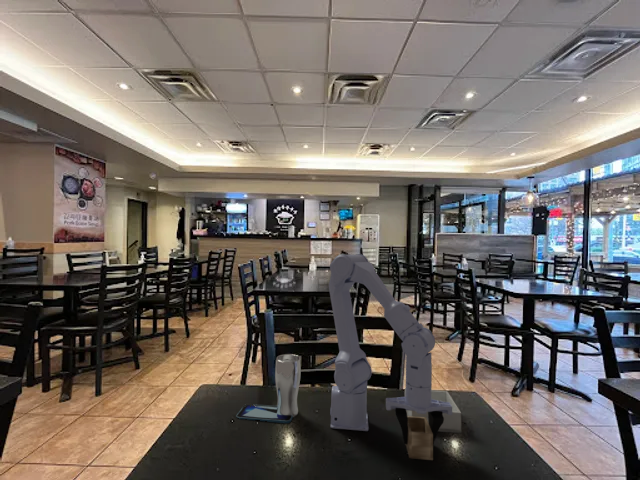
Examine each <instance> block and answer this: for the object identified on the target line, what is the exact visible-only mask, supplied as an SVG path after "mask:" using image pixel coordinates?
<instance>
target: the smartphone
mask: <svg viewBox="0 0 640 480" xmlns="http://www.w3.org/2000/svg"><path fill="white" fill-rule="evenodd" d="M245 405H246V404H245ZM254 405H255V406H256V407H255V406H254ZM243 406H244V405H243ZM276 409H277V405H270V404H269V405H267V404H254V403H253V406H252V405H251V407H250V405H246V407H245V406H244V408H243V407H241V409H240V410H239V411H238V412H237V414H235V415H236V416H235V418H236V417H237V418H239V419H238V420H245V419H247V420H246V421H255V420H260V421H259V422H265V421H267V422H266V423H274V424H275V423H277V424H290V423H291V422H292V420H293V418H294V417H293V415H292V416H280V415H278V414H277V413H276ZM237 418H236V419H237Z"/></svg>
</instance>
